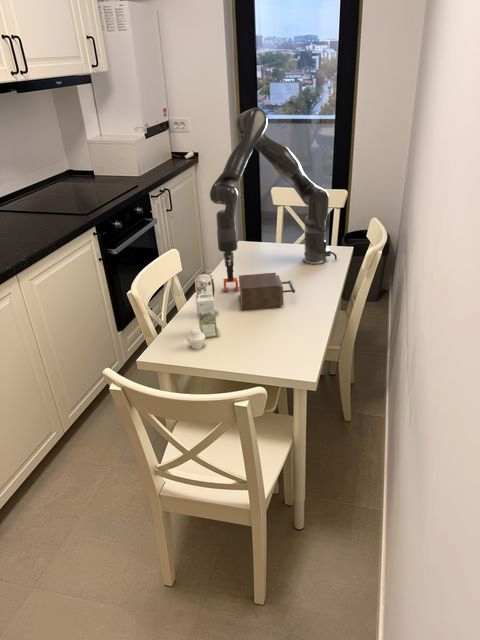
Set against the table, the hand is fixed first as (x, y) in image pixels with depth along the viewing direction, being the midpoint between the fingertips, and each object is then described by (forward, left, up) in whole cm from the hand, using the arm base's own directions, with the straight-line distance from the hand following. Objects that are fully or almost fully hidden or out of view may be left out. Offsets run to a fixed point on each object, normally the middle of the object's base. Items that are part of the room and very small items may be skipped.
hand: (230, 278), depth 203 cm
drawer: (-15, +13, -4) cm, 20 cm away
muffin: (+14, +43, -6) cm, 46 cm away
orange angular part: (0, 0, -5) cm, 5 cm away
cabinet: (-11, +13, -5) cm, 18 cm away
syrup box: (+10, +35, -6) cm, 37 cm away
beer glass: (+10, +20, -6) cm, 23 cm away
